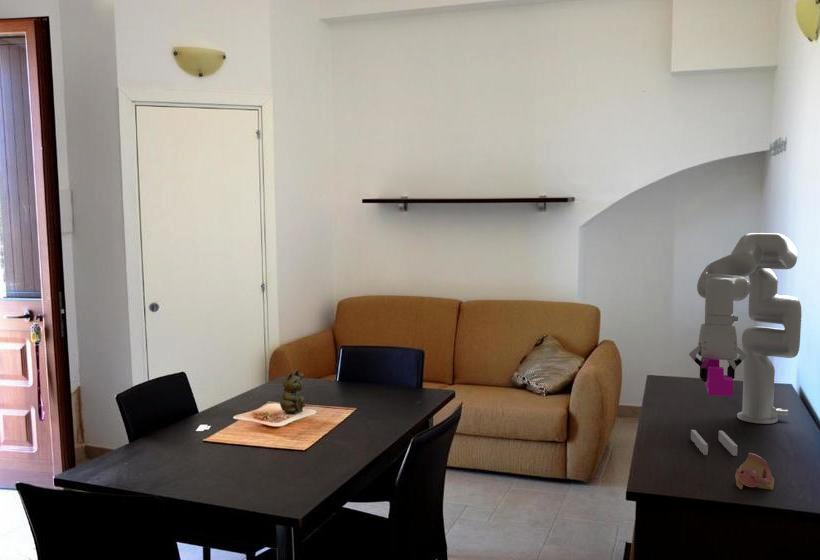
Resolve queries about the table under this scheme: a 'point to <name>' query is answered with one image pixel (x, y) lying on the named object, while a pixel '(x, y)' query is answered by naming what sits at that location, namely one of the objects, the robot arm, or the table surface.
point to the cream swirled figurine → (754, 473)
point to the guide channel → (722, 438)
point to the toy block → (718, 380)
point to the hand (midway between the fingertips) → (716, 380)
